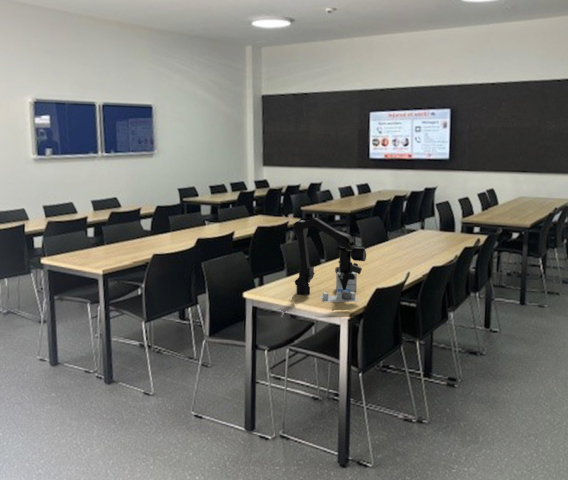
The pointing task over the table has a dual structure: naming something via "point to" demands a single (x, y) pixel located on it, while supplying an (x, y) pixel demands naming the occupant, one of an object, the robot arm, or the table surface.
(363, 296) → the table surface
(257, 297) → the table surface
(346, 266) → the robot arm
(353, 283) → the light bulb box
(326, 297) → the white base plate
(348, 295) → the dark gray cylinder
